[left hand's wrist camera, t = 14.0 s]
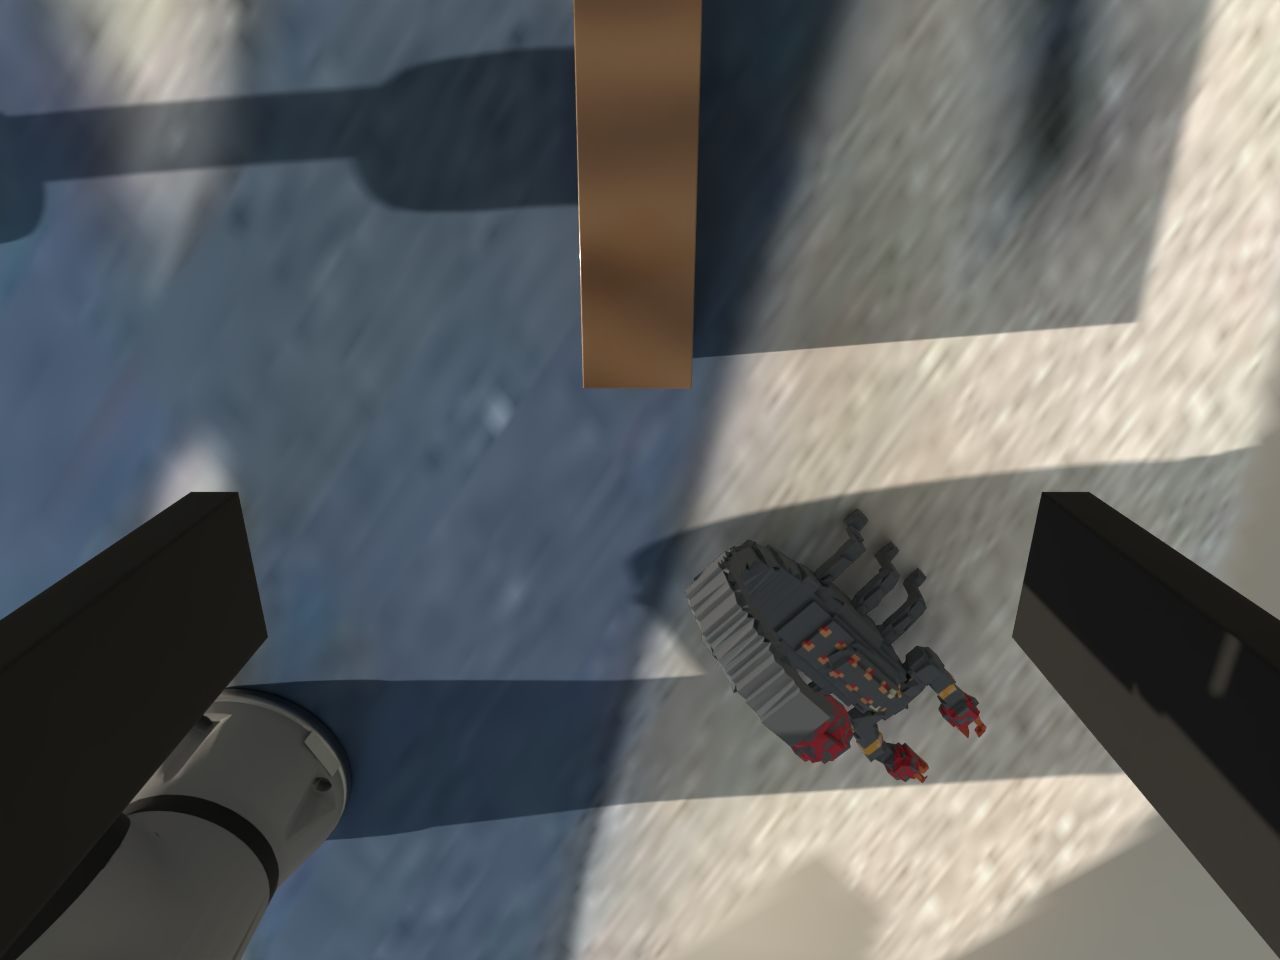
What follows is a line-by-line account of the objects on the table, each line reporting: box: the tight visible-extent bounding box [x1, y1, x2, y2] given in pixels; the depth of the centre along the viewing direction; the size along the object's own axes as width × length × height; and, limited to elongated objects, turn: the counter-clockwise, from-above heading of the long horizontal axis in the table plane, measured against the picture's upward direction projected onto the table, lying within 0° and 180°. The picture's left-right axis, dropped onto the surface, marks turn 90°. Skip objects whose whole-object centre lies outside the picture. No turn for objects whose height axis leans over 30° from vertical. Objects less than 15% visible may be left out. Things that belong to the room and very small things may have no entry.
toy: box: [685, 509, 986, 783], centre depth 44 cm, size 13×27×18 cm, turn 46°
